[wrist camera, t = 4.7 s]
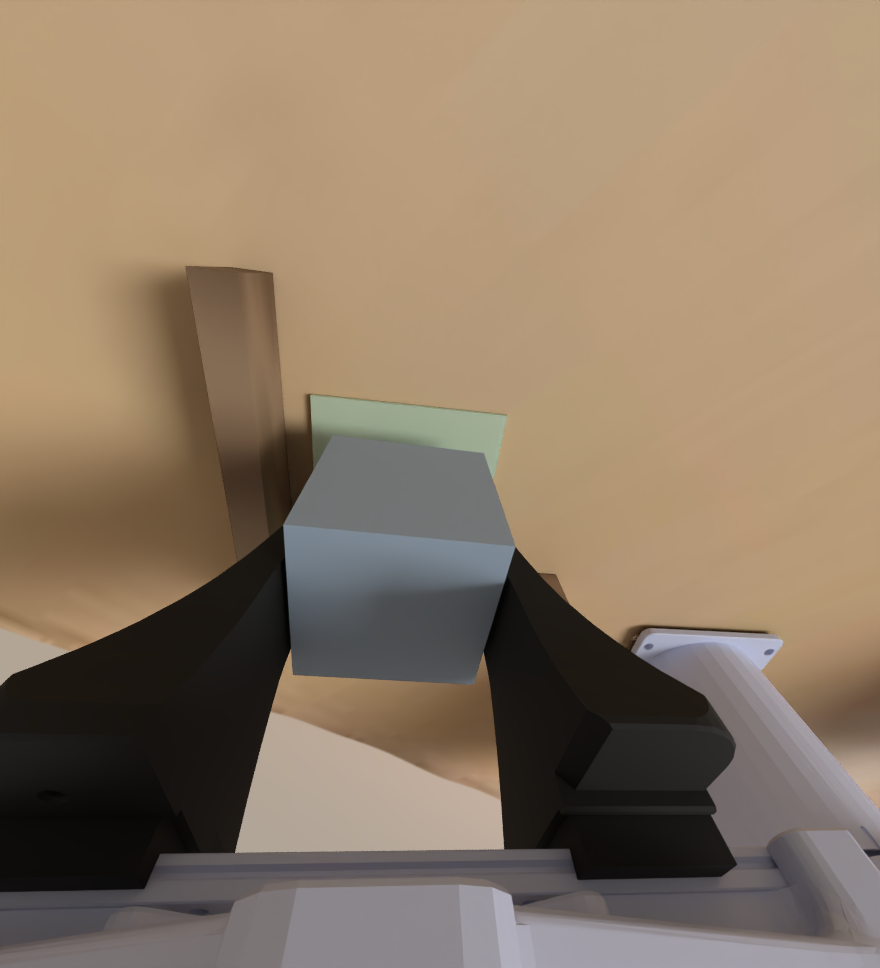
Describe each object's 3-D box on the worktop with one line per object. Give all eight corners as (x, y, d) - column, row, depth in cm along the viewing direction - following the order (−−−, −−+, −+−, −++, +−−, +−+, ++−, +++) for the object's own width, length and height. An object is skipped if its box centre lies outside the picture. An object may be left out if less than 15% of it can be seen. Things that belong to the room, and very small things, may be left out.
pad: (474, 561, 17) (475, 563, 17) (318, 550, 17) (317, 553, 16) (506, 414, 14) (507, 415, 14) (311, 393, 13) (310, 395, 13)
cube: (483, 453, 13) (515, 546, 8) (458, 566, 15) (473, 684, 11) (333, 434, 12) (283, 524, 8) (331, 555, 15) (292, 675, 10)
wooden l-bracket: (549, 593, 18) (566, 636, 16) (269, 576, 17) (248, 621, 15) (646, 323, 13) (693, 334, 10) (230, 266, 11) (185, 266, 9)
